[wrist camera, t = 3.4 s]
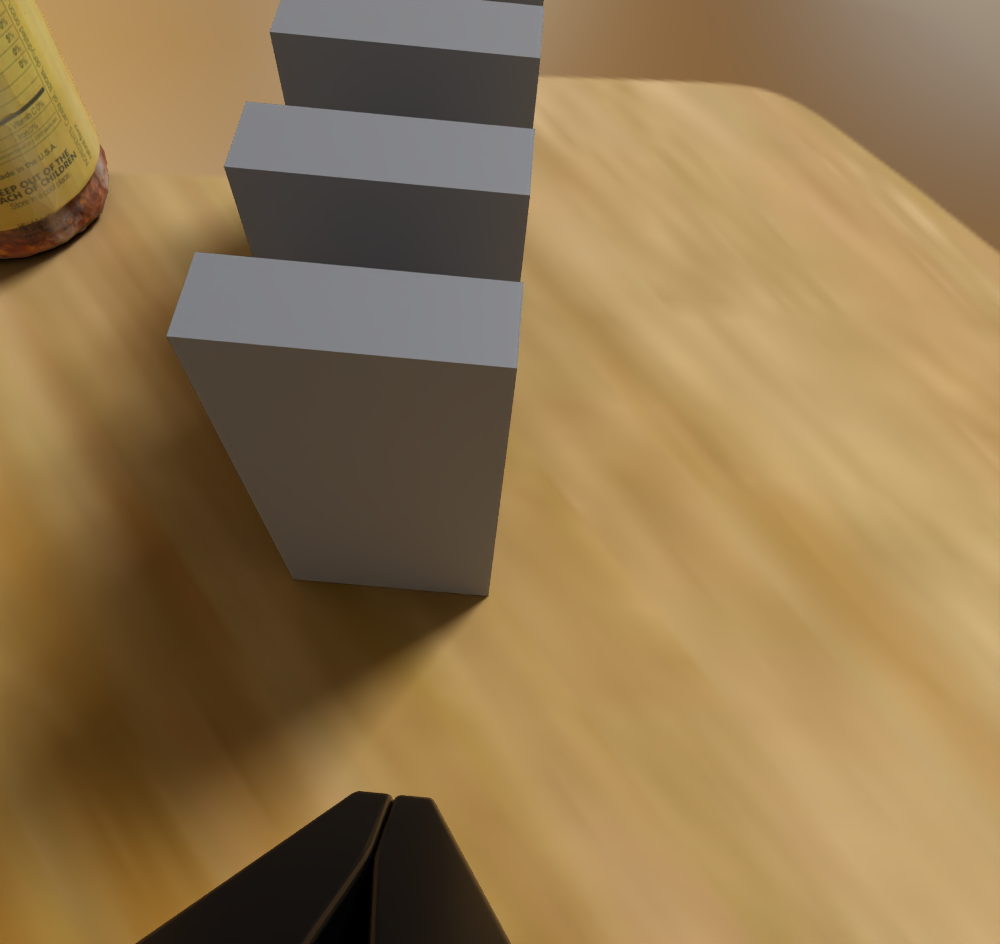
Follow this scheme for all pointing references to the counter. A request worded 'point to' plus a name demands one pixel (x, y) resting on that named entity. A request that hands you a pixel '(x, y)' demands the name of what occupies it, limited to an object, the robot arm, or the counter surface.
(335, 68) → the domino
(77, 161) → the sauce bottle
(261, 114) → the domino
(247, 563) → the counter surface
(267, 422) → the domino
